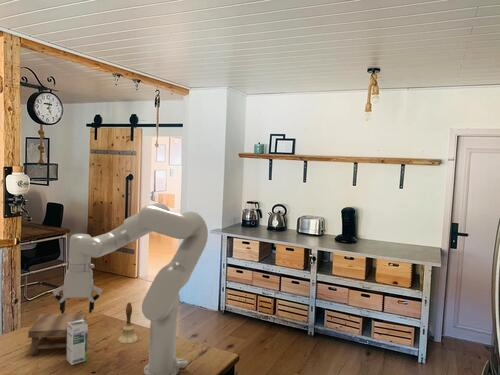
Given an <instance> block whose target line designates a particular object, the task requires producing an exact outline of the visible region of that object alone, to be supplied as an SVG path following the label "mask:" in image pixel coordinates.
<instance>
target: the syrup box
mask: <svg viewBox="0 0 500 375" xmlns="http://www.w3.org/2000/svg"><path fill="white" fill-rule="evenodd" d="M88 328H89V324H88V323H87V321H86V320H85V321H84V320H83V319H82V320H78V321H74V322H68V323H67V336H66V343H67V347H66V360H67V362H68V363H69V364H70V365H71V366H73V365H75V364H79V363H84V362H87V360H88V333H89V332H88V331H89V330H88Z"/></svg>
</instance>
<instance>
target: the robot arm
mask: <svg viewBox="0 0 500 375" xmlns="http://www.w3.org/2000/svg"><path fill="white" fill-rule="evenodd" d="M152 232H153V233H156V234H158V235H159V234H160V235H163V236H167V237H170V238H173V239H176V240H182V241H181V243H180V244H179V246H178V248H177V250H176V252H175V254H174V255H173V258H172V259H171V261H170V262H169V263H168V264H166V265H164V266H163V267H161V269H160V270H159V271H158V272H157V274H156V276H155V277H154V279H153V281H152V282H151V285H150V286H149V288H148V290H147V292H146V293H145V296H144V298H143V300H142V303H141V311H142V314H143V316H144V317H145V318H146V319H147V320H148V321H150V323H149V324H150V325H149V342H148V363H147V364H146V365H145V366H144V368H143V374H144V375H177V374H178V373H179V370H180V367H188V365H189V360H185V359H184V358H185V357H184V358H183V357H181V358H177V355H176V352H177V351H176V350H177V349H176V348H177V347H176V346H177V345H176V344H177V329H178V314H179V309H180V301H181V300H180V299H181V298H180V291H181V290H182V288H184V287H185V285H186V284H187V283H188V282H189V280H190V279H191V276H192V274H193V272H194V270H195V268H196V266H197V264H198V262H199V260H200V259H201V256H202V254H203V252H204V250H205V249H206V248H205V247H206V245H207V242H208V236H209V232H208V226H207V224H206V221H205V220H204V218H203V217H202V216H201V215H200V214H199V213H198V212H196V211H195V212H194V211H185V212H181V213H177V212H174V211H171V210H170V208H169V206H167V205H166V204H165V203H162V202H158V203H156V202H155V203H151V204H148V205H145V206H144V207H142V208H141V209H140V210H139V212H137V213H135V214H133V215H131V216H129V217H127V218H125V219H124V221H123V223H122V224H121V225H119V226H117V227H116V228H115V229H113V230H110V231H108V232H106V233H104V234H99V235H97V236H93V237H92V236H91V235H90V234H87V233H74V234H72V235H71V236H70V238H69V248H68V249H69V252H68V254H69V255H68V268H67V270H66V272H65V275H64V280H63V285H61V286H59V287H57V288H55V289H53V290H52V294H53V296H54V298H55V299H56V300H57V301H58V302H59V311H60V313H61V314H63V313H65V311H66V299H88V300H89V306H88V307H89V308H88V313H89V314H92V311H93V310H94V309H95V301H97V300H98V299H99V298H100V296H101V294H102V293H103V289H102V288H100V287H98V286H96V285H94V274H93V272H94V271H93V268H95V264H94V263H92V262H91V261H92V258H95V259H96V258H97V259H98V258H100V257H103V256H106V255H108V254H111V253H113V252H115V251H117V250H119V249H120V248H122V247H124V246H127V245H128V244H130V243H132V242H134V241H137V240H139V239H140V238H143V237H144V236H146V235H148V234H149V233H152ZM94 291H95V292H96V294H95V295H93V293H94ZM59 292H62V295H61V294H59Z"/></svg>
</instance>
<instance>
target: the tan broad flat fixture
mask: <svg viewBox="0 0 500 375" xmlns="http://www.w3.org/2000/svg"><path fill="white" fill-rule="evenodd" d="M82 319H83V320H84V321H86V320H87V312H66V313H65V312H64V313H63V314H61V312H59V313H41V314H39V315H38V317H37V319H36V320H35V322H34V323H33V324H32V325H31V327H30V328H29V330H28V331H27V332H28V333H27V335H28V336H27V338H28V339H31V352H30V355H31V356H32V357H36V356H38V355H39V350H40V349H41V350H43V349H60V348H63V349H64V348H67V342H62V343H61V342H57V343H42V344H39V343H40V341H47V340H48V337H49V338H51V337H54V338H55V337H67V323H68V322H74V321H78V320H82Z"/></svg>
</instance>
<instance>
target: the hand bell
mask: <svg viewBox="0 0 500 375" xmlns="http://www.w3.org/2000/svg"><path fill="white" fill-rule="evenodd" d="M132 313H133V307H132V304H131V302H127V304H126V307H125V315H126V325H125V326H123V328H122V333H121V335H120V336H119V337H118V339H117V342H118V343H120V344H122V345H123V344H124V345H125V344H128V345H129V344H135V343H136V342H137V341H138V340H139V336H137V335H136V333H135V328H134V326H133V325H131V323H132V322H131V320H132V319H131V317H132Z"/></svg>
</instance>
